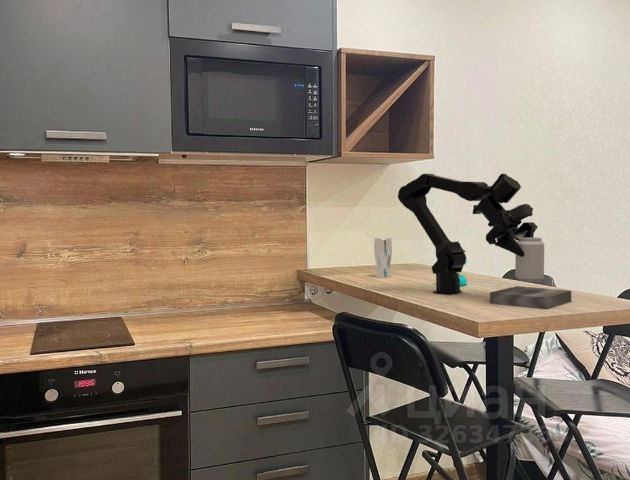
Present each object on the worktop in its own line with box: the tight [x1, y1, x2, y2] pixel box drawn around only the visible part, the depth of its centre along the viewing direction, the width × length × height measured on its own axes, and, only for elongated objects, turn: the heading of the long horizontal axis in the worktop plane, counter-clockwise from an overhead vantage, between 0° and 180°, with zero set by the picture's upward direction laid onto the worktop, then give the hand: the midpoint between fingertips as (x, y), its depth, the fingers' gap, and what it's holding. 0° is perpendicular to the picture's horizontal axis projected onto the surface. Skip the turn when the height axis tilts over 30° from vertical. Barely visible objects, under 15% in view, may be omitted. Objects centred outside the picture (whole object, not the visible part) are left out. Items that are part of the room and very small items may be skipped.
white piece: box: [373, 237, 393, 279], centre depth 232 cm, size 7×7×15 cm
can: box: [514, 236, 545, 283], centre depth 164 cm, size 8×8×12 cm
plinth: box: [489, 285, 572, 310], centre depth 165 cm, size 16×16×3 cm
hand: (531, 254), depth 164 cm, fingers closed on can, 7 cm apart
